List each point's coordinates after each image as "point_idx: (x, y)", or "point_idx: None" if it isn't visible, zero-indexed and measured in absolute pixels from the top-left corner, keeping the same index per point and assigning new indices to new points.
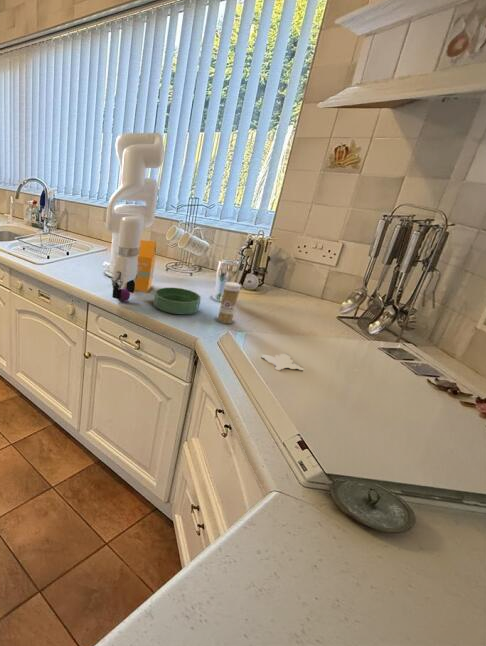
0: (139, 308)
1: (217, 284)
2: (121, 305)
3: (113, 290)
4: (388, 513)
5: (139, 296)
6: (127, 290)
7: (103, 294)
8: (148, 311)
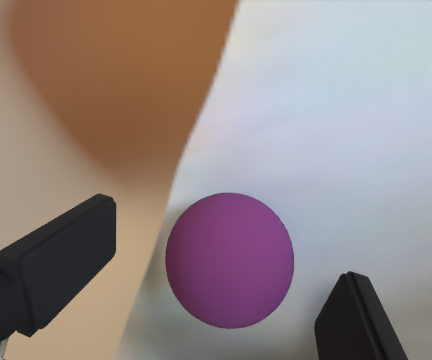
0: (182, 312)
1: None
2: (162, 228)
3: (38, 233)
4: None
5: (412, 316)
6: (221, 327)
7: (333, 3)
8: (173, 343)
